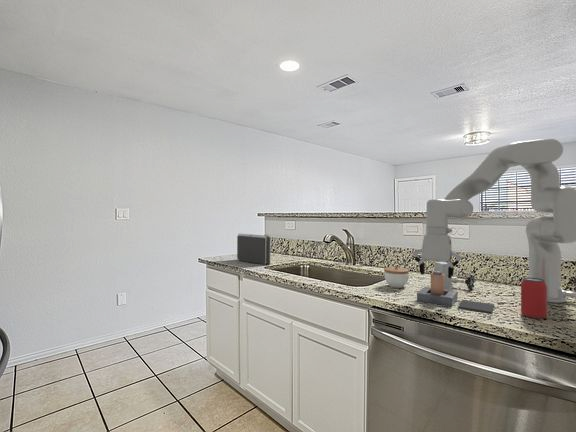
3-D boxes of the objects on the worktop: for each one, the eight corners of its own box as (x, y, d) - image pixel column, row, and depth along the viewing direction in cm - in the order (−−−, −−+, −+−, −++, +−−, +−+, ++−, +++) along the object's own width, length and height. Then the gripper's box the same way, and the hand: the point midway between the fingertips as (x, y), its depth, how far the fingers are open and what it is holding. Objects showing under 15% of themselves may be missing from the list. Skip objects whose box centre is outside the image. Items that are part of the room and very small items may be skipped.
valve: (440, 286, 140) (469, 291, 131) (440, 272, 140) (469, 276, 131) (446, 284, 144) (474, 288, 135) (446, 270, 144) (474, 273, 135)
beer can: (525, 318, 98) (525, 280, 98) (518, 311, 104) (518, 276, 104) (550, 320, 96) (550, 282, 96) (542, 313, 102) (542, 277, 102)
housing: (457, 298, 120) (457, 290, 120) (452, 306, 111) (452, 298, 111) (424, 293, 127) (424, 286, 127) (416, 300, 118) (416, 293, 118)
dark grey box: (233, 260, 221) (233, 233, 221) (256, 257, 237) (256, 231, 237) (267, 265, 197) (267, 235, 197) (290, 262, 213) (290, 233, 213)
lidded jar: (391, 282, 149) (390, 262, 149) (413, 286, 141) (413, 265, 141) (379, 286, 141) (379, 265, 141) (402, 290, 134) (402, 268, 133)
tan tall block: (445, 299, 120) (445, 271, 119) (443, 302, 116) (443, 273, 115) (432, 297, 122) (432, 270, 122) (429, 300, 119) (429, 272, 118)
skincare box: (452, 292, 130) (452, 263, 130) (443, 292, 129) (442, 264, 129) (442, 288, 136) (442, 261, 136) (433, 289, 135) (433, 261, 135)
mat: (494, 306, 111) (494, 304, 111) (491, 313, 103) (491, 311, 103) (462, 301, 117) (462, 299, 117) (457, 308, 109) (457, 306, 109)
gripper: (463, 232, 116) (463, 277, 117) (415, 230, 127) (415, 271, 127) (460, 233, 110) (459, 280, 111) (410, 230, 121) (409, 274, 121)
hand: (435, 275), depth 119 cm, fingers open, 9 cm apart
